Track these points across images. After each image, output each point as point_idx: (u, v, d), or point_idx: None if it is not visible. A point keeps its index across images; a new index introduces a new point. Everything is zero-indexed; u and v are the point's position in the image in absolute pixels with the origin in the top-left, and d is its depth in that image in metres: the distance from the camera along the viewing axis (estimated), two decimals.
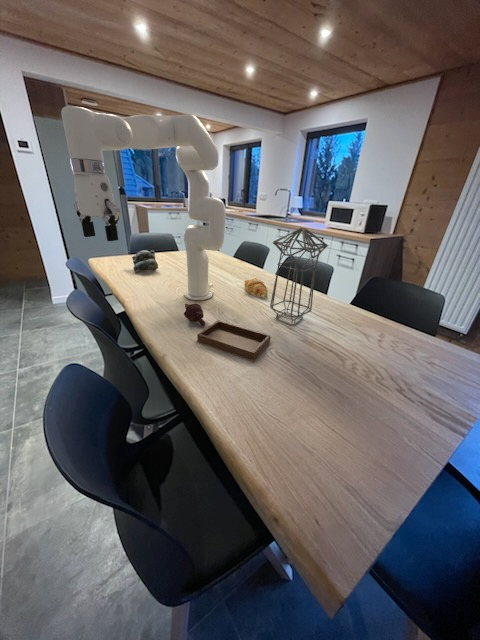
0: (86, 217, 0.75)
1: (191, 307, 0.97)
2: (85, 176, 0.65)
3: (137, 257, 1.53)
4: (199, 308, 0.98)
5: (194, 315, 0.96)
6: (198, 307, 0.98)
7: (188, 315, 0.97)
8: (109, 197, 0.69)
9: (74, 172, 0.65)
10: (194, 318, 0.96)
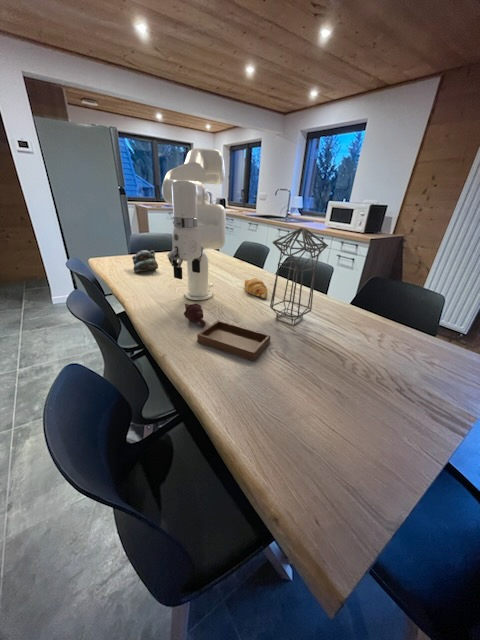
0: (197, 258, 0.94)
1: (191, 307, 0.97)
2: None
3: (137, 257, 1.53)
4: (199, 308, 0.98)
5: (194, 315, 0.96)
6: (198, 307, 0.98)
7: (188, 315, 0.97)
8: (178, 245, 0.83)
9: None
10: (194, 318, 0.96)
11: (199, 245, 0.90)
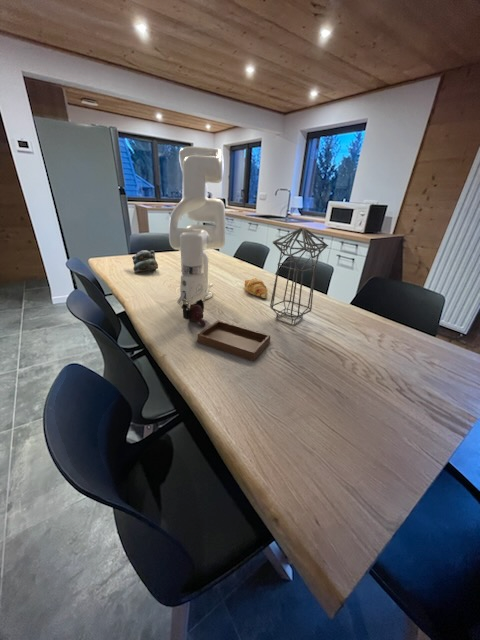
0: (201, 299, 1.01)
1: (191, 307, 0.97)
2: None
3: (137, 257, 1.53)
4: (199, 308, 0.98)
5: (194, 315, 0.96)
6: (198, 307, 0.98)
7: None
8: (186, 290, 0.91)
9: None
10: (194, 318, 0.96)
11: (204, 287, 0.97)
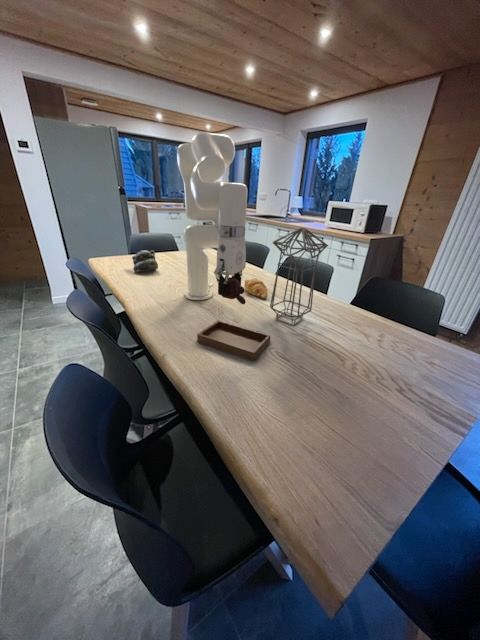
0: (238, 272, 0.83)
1: (228, 281, 0.79)
2: None
3: (137, 257, 1.53)
4: (237, 282, 0.79)
5: (232, 290, 0.78)
6: (236, 281, 0.79)
7: None
8: (225, 257, 0.72)
9: None
10: (232, 294, 0.78)
11: (244, 256, 0.79)
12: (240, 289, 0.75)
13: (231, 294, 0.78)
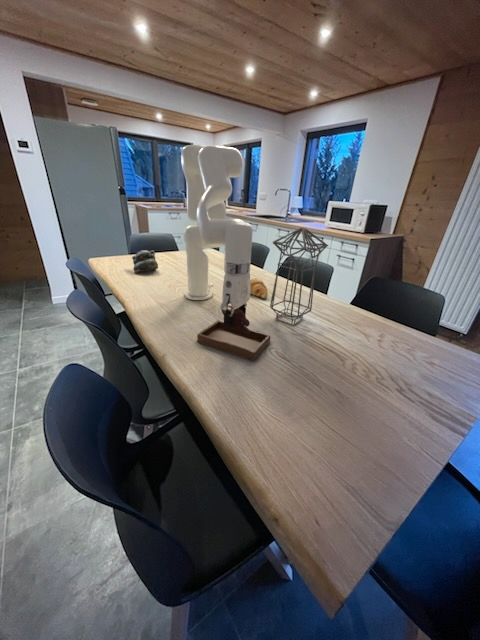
0: None
1: (233, 313, 0.81)
2: None
3: (137, 257, 1.53)
4: (242, 314, 0.82)
5: (237, 322, 0.80)
6: (241, 313, 0.82)
7: None
8: (230, 293, 0.75)
9: None
10: (237, 326, 0.80)
11: (249, 289, 0.81)
12: (245, 322, 0.78)
13: (236, 326, 0.80)
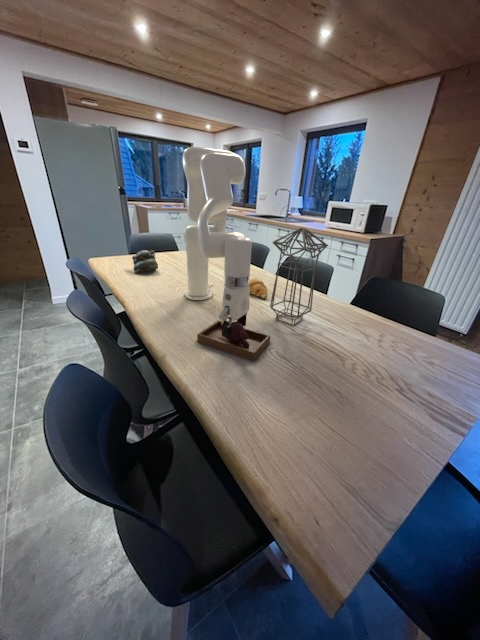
0: None
1: (233, 326, 0.83)
2: None
3: (137, 257, 1.53)
4: (241, 327, 0.84)
5: (236, 335, 0.82)
6: (240, 326, 0.84)
7: None
8: (230, 305, 0.77)
9: None
10: (236, 339, 0.82)
11: (248, 300, 0.83)
12: (244, 335, 0.80)
13: (236, 339, 0.82)
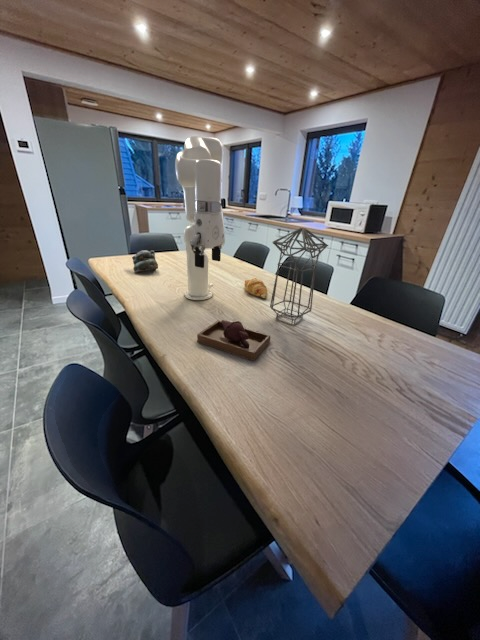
0: (217, 245, 0.89)
1: (233, 326, 0.83)
2: None
3: (137, 257, 1.53)
4: (241, 327, 0.84)
5: (236, 335, 0.82)
6: (240, 326, 0.84)
7: (229, 335, 0.83)
8: (201, 231, 0.78)
9: None
10: (236, 339, 0.82)
11: (221, 231, 0.84)
12: (244, 335, 0.80)
13: (236, 339, 0.82)
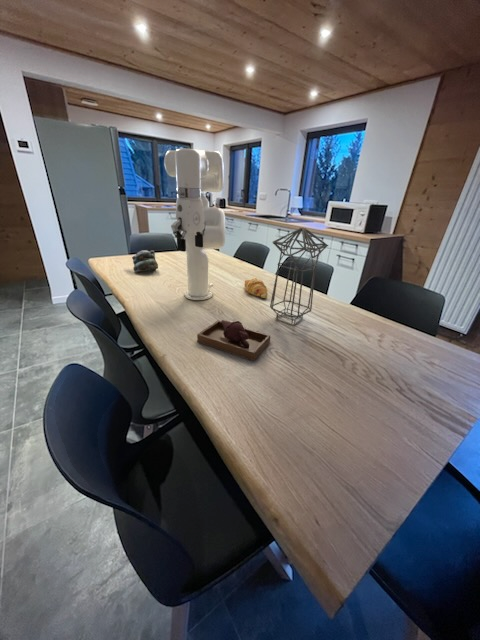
0: (200, 232, 0.94)
1: (233, 326, 0.83)
2: None
3: (137, 257, 1.53)
4: (241, 327, 0.84)
5: (236, 335, 0.82)
6: (240, 326, 0.84)
7: (229, 335, 0.83)
8: (182, 216, 0.83)
9: None
10: (236, 339, 0.82)
11: (202, 218, 0.89)
12: (244, 335, 0.80)
13: (236, 339, 0.82)
